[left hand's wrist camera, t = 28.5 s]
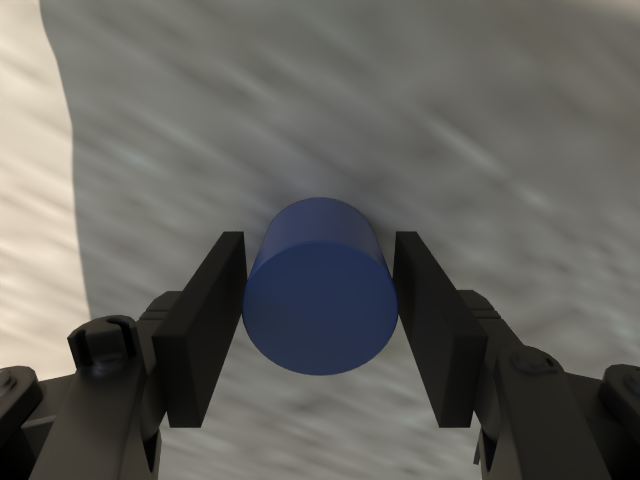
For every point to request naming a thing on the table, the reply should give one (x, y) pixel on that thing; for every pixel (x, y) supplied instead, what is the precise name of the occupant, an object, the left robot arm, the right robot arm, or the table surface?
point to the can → (320, 290)
